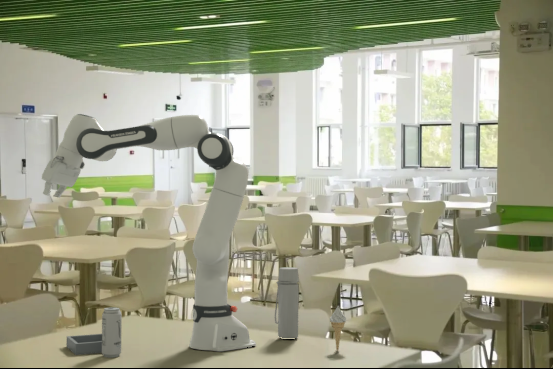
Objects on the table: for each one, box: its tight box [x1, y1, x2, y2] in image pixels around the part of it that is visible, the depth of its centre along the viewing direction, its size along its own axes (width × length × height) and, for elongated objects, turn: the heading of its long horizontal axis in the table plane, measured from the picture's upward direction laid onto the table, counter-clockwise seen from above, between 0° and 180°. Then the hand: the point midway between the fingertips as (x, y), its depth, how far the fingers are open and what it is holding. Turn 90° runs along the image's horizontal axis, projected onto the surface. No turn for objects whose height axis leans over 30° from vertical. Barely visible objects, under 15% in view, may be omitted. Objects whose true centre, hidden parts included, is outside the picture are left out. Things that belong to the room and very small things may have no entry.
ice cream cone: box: [329, 305, 347, 351], centre depth 264 cm, size 6×6×15 cm
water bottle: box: [274, 266, 300, 339], centre depth 285 cm, size 9×8×25 cm
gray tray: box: [66, 333, 102, 356], centre depth 263 cm, size 14×14×4 cm
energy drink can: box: [101, 306, 123, 358], centre depth 253 cm, size 6×6×15 cm
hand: (51, 195), depth 271 cm, fingers open, 8 cm apart
